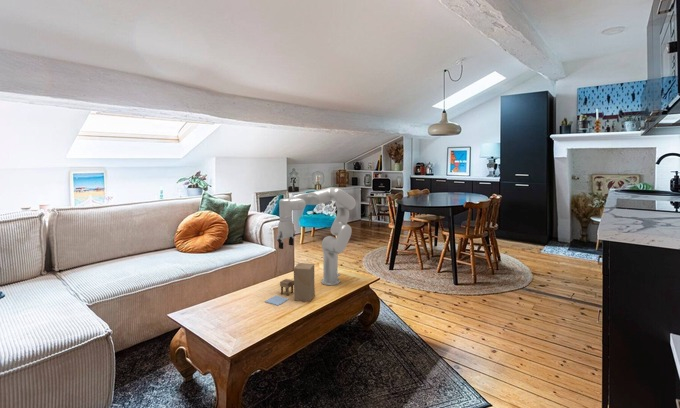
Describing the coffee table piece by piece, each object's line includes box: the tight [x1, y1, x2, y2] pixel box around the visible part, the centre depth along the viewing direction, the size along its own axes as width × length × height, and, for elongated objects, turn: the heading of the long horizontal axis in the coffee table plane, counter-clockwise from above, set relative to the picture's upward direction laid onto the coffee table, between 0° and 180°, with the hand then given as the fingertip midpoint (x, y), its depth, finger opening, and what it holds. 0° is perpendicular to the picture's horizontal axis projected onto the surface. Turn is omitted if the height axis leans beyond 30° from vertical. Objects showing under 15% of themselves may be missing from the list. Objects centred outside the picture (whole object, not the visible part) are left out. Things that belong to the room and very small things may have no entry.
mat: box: [264, 295, 290, 307], centre depth 204 cm, size 10×10×1 cm
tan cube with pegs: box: [279, 278, 294, 297], centre depth 214 cm, size 6×6×8 cm
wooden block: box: [293, 262, 315, 302], centre depth 207 cm, size 10×10×20 cm
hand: (286, 246), depth 211 cm, fingers open, 9 cm apart
